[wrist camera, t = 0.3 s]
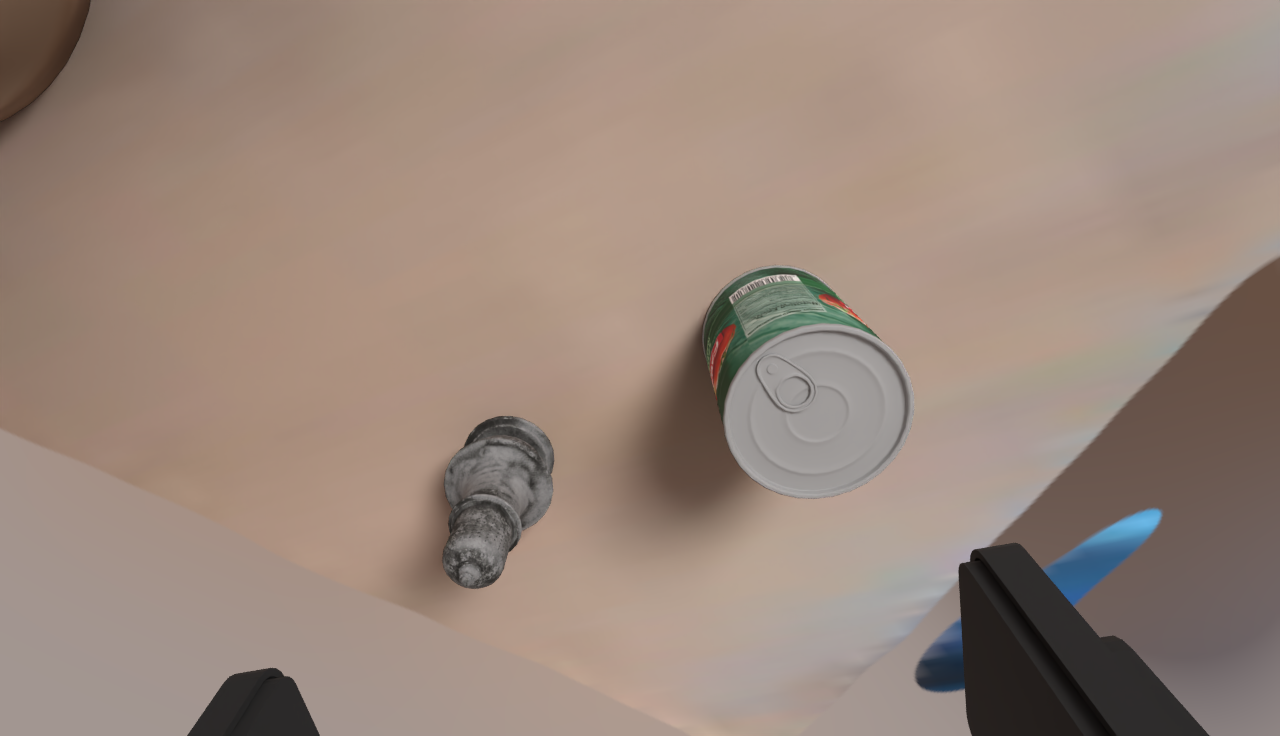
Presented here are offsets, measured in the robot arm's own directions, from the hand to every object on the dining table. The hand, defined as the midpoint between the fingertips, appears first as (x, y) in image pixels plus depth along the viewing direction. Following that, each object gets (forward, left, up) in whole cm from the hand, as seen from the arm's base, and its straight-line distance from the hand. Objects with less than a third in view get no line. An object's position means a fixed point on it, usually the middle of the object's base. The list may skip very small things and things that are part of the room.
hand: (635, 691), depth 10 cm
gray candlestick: (+11, -9, -31) cm, 34 cm away
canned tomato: (+6, +7, -31) cm, 32 cm away
